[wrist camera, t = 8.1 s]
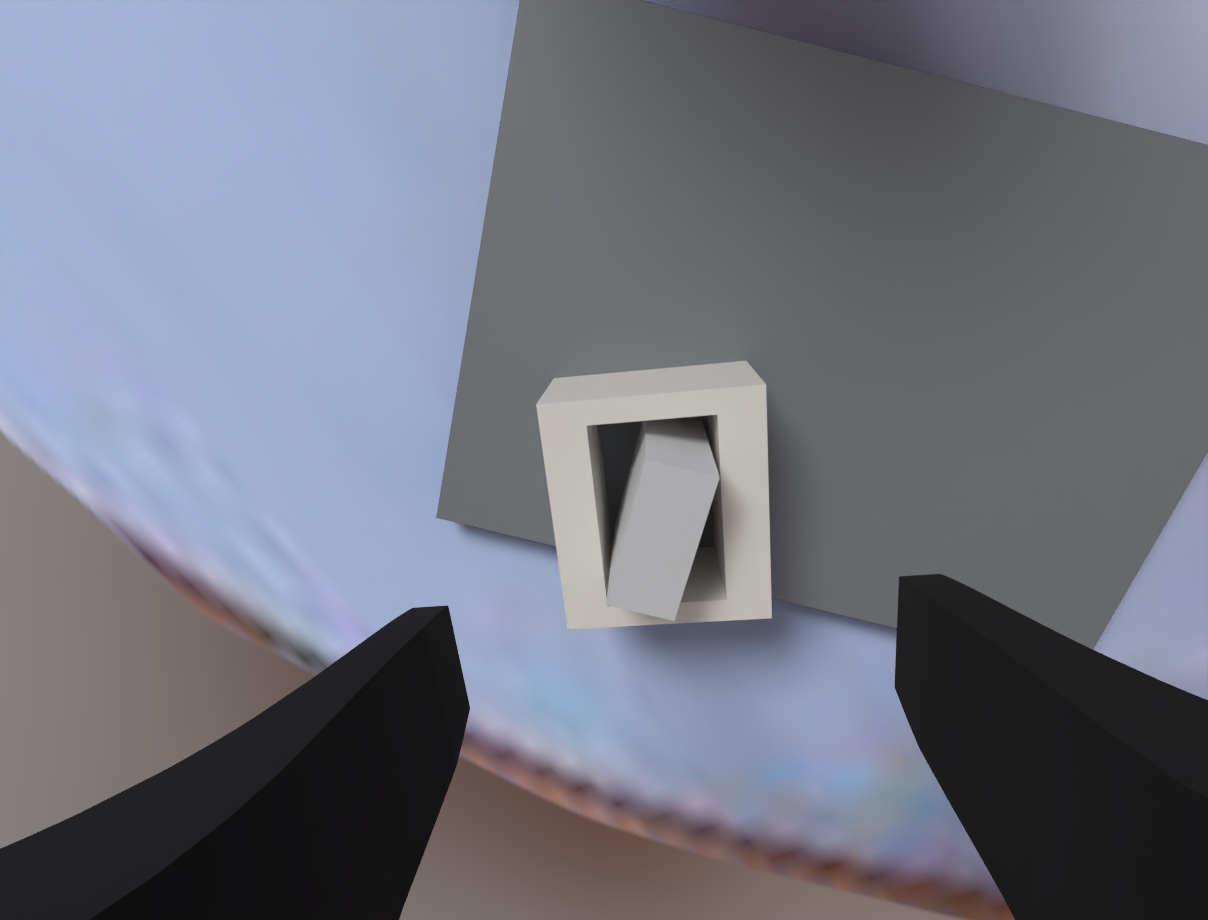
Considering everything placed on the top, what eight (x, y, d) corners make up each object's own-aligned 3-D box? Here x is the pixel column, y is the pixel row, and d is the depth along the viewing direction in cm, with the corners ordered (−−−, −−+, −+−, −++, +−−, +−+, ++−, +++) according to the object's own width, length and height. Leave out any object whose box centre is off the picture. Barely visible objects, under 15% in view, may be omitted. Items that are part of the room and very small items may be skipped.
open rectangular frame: (746, 360, 17) (766, 384, 14) (753, 561, 19) (772, 618, 16) (553, 378, 18) (536, 404, 15) (579, 573, 19) (567, 629, 17)
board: (1320, 187, 16) (1649, 161, 11) (1059, 652, 20) (1200, 792, 15) (532, -13, 16) (474, -142, 10) (446, 504, 20) (376, 596, 15)
